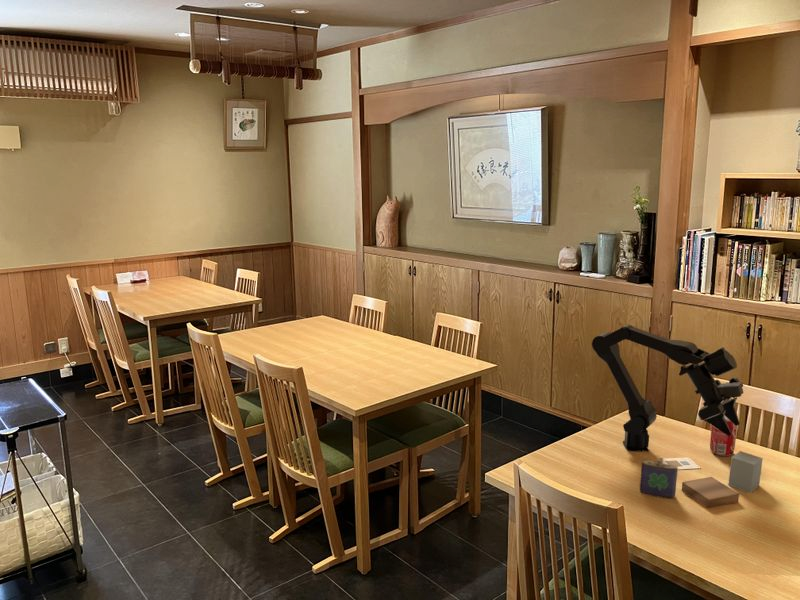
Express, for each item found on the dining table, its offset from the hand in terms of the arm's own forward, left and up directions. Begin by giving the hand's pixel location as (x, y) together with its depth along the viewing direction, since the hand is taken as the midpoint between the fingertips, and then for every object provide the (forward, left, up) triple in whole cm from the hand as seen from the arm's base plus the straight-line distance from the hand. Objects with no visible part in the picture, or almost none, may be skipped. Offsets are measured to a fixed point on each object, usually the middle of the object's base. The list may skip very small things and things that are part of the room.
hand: (734, 430), depth 188 cm
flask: (-25, -14, -14) cm, 32 cm away
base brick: (-11, -14, -14) cm, 23 cm away
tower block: (+1, -7, -14) cm, 15 cm away
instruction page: (-13, +5, -14) cm, 19 cm away
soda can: (+3, +14, -14) cm, 20 cm away
